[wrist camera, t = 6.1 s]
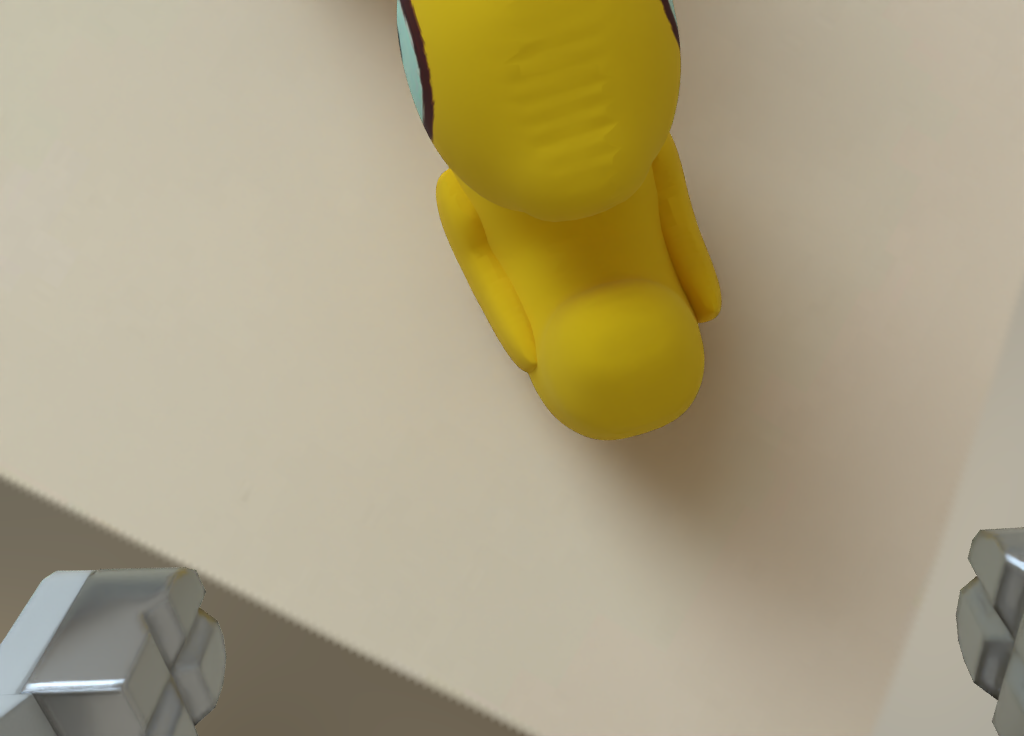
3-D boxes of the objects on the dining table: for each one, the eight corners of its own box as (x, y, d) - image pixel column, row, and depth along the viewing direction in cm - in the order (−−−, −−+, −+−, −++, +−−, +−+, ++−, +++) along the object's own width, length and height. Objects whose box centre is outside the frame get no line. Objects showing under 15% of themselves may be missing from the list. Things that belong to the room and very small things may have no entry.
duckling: (406, 74, 24) (269, -263, 14) (601, 11, 24) (599, -373, 14) (526, 490, 21) (459, 429, 12) (746, 424, 21) (868, 304, 11)
